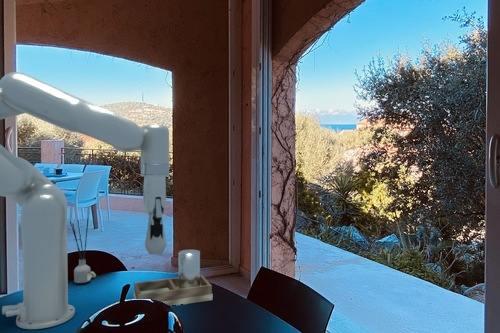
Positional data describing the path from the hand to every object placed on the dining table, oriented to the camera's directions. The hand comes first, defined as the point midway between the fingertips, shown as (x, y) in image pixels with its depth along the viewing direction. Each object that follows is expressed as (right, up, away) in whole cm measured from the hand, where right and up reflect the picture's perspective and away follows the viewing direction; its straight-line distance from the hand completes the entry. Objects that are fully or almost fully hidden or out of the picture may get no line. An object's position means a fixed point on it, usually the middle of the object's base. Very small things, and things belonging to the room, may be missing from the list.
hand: (155, 237), depth 102 cm
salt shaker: (0, -4, 0) cm, 4 cm away
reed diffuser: (-27, -17, +15) cm, 36 cm away
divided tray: (+4, -18, +2) cm, 18 cm away
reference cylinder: (+9, -16, +4) cm, 19 cm away
